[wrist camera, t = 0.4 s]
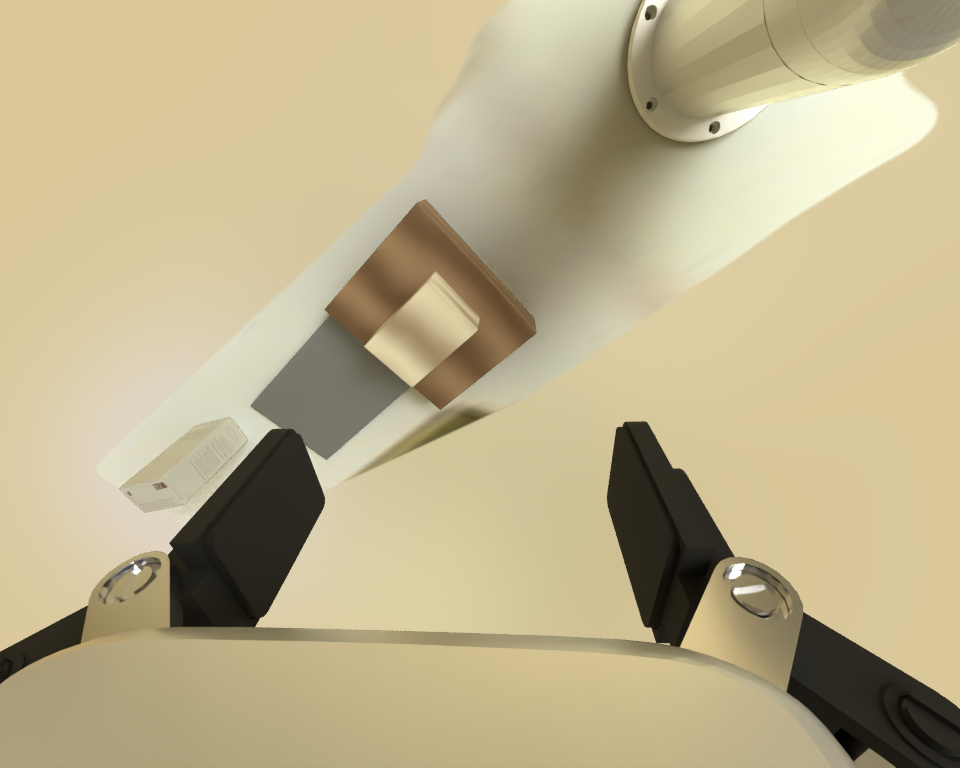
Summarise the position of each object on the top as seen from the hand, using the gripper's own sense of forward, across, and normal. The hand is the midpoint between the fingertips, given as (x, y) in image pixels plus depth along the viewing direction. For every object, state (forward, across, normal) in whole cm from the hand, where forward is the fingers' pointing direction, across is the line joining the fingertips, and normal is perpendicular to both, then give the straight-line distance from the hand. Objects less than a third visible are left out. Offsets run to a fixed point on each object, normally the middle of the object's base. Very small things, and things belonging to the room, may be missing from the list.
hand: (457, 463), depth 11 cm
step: (+31, +6, +5) cm, 32 cm away
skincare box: (+31, +38, +21) cm, 54 cm away
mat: (+31, +21, +15) cm, 40 cm away
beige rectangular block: (+27, +7, +6) cm, 28 cm away
